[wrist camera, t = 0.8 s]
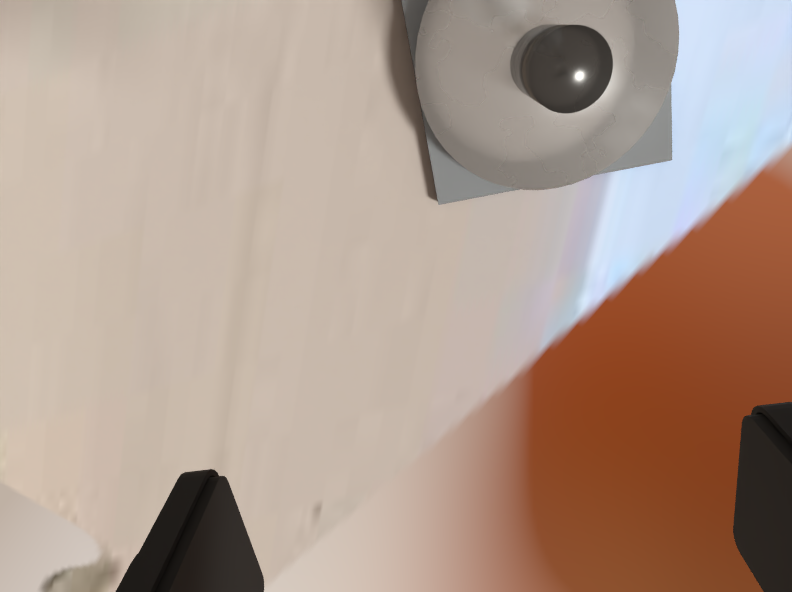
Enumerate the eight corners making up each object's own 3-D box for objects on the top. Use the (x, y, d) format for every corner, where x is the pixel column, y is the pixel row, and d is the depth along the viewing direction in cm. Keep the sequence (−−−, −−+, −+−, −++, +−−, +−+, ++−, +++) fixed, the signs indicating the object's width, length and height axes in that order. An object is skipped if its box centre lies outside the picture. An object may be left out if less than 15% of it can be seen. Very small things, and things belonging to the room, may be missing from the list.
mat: (392, -50, 27) (391, -51, 26) (663, -116, 26) (668, -119, 25) (438, 201, 32) (438, 204, 31) (667, 157, 30) (672, 160, 30)
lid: (392, -51, 26) (385, -71, 21) (668, -119, 25) (738, -158, 20) (438, 204, 31) (443, 243, 26) (672, 160, 30) (729, 190, 24)
